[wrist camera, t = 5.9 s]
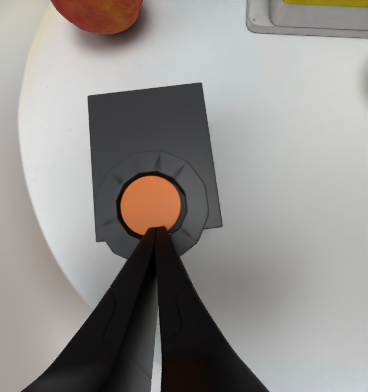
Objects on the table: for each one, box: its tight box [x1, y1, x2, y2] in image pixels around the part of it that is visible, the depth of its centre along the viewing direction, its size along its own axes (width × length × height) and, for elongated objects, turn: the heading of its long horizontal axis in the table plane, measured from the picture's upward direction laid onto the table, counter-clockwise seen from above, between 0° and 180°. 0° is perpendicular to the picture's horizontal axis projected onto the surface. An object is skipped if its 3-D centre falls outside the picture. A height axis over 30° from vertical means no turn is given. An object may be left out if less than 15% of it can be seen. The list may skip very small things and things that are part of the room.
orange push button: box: [121, 176, 182, 235], centre depth 10 cm, size 3×3×2 cm
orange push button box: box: [88, 82, 223, 259], centre depth 14 cm, size 11×8×7 cm
